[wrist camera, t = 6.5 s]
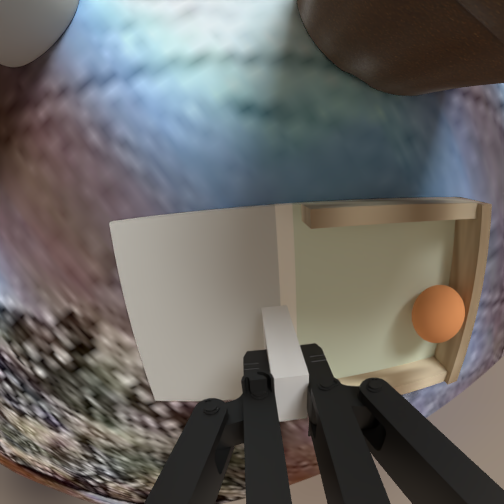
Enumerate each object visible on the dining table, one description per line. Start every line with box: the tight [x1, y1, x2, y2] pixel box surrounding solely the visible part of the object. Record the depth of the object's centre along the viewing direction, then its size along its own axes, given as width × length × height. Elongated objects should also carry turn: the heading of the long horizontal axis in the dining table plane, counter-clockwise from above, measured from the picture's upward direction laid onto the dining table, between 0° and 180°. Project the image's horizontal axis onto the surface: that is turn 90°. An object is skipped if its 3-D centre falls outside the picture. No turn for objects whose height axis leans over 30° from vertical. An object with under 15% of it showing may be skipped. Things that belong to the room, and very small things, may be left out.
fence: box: [301, 197, 492, 395], centre depth 18 cm, size 12×14×4 cm
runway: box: [109, 199, 455, 401], centre depth 19 cm, size 24×14×1 cm, turn 95°
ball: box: [412, 285, 465, 343], centre depth 17 cm, size 4×4×4 cm
